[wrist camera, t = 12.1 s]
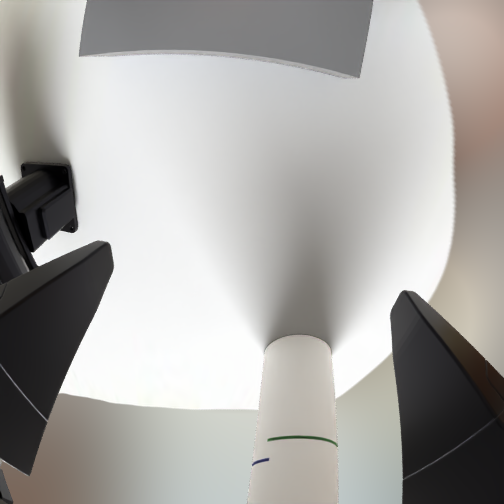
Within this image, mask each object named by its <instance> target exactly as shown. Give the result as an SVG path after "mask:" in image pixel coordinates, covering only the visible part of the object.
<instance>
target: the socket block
mask: <svg viewBox="0 0 504 504" xmlns="http://www.w3.org/2000/svg"><path fill="white" fill-rule="evenodd" d="M372 6H373V0H87V4H86V9H85V15H84V21H83V27H82V34H81V42H80V50H79V57H84V56H123V55H142V54H190V55H210V56H223V57H233V58H242V59H251V60H258V61H265V62H271V63H277V64H283V65H289V66H294V67H299V68H304V69H309V70H313V71H317V72H322V73H326V74H330V75H334V76H338V77H341V78H359V77H360V72H361V67H362V62H363V57H364V52H365V47H366V41H367V36H368V30H369V24H370V18H371V12H372Z"/></svg>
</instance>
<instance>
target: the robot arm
mask: <svg viewBox="0 0 504 504" xmlns="http://www.w3.org/2000/svg"><path fill="white" fill-rule="evenodd" d="M65 170H66V172H65ZM21 173H22V178H21V179H20V180H18V181H16V182H15V183H13V184H11V185H10V186H8V187H7V188H5V186H4V183H3V182H4V179H3V176H2V175H0V466H1V463H2V461H4V462H6V463H7V464H9V465H11V466H12V467H14V468H16V469H17V470H19V471H21V472H22V473H24V474H26V475H27V476H30V474H31V470H32V467H33V464H34V461H35V457H36V454H37V451H38V448H39V445H40V442H41V439H42V436H43V433H44V430H45V427H46V425H47V420H48V418H49V416H50V413H51V411H52V408H53V405H54V403H55V400H56V398H57V395H58V393H59V391H60V388H61V386H62V383H63V381H64V379H65V376H66V374H67V372H68V369H69V367H70V365H71V363H72V360H73V358H74V356H75V354H76V352H77V350H78V348H79V345H80V343H81V341H82V339H83V337H84V335H85V333H86V331H87V329H88V327H89V325H90V323H91V321H92V319H93V317H94V315H95V313H96V311H97V309H98V306H99V304H100V301H101V299H102V296H103V294H104V291H105V289H106V287H107V284H108V282H109V279H110V277H111V275H112V272H113V269H114V262H113V257H112V250H111V245H110V244H109V243H108V242H104V241H95V242H93V243H90V244H88V245H86V246H83V247H81V248H79V249H76V250H74V251H72V252H70V253H67V254H65V255H63V256H61V257H59V258H56V259H54V260H52V261H50V262H48V263H45V264H43V265H41V266H37V264H36V262H35V260H34V258H33V256H32V254H31V252H35V251H36V250H37V249H38V248H39V247H40V246H41V245H42V244H43V243H44V242H45V241H46V240H47V239H48V240H49V239H51V238H52V237H53V236H54V235H55V234H56V233H57V232H58V231H60V230H61V231H65V232H70V233H74V232H76V231H77V229H78V225H77V219H76V212H75V204H74V196H73V186H72V175H71V168H70V166H69V165H67V164H55V163H37V162H25V163H23V164H22V165H21ZM390 319H391V333H392V351H393V362H394V370H395V377H396V385H397V394H398V403H399V413H400V425H401V441H402V464H403V479H404V480H403V493H402V494H403V495H402V504H504V378H503V377H502V376H501V375H500V374H499V373H498V372H497V370H495V368H494V367H493V366H492V365H491V364H490V363H489V362H488V361H487V360H486V361H485V358H484V357H483V356H482V355H481V354H480V353H479V352H478V351H477V350H476V349H475V348H474V347H473V346H472V345H471V344H470V343H469V342H468V341H467V340H466V339H465V338H464V337H463V336H462V335H461V334H460V333H459V332H458V331H457V330H456V329H455V328H453V327H452V326H451V325H450V324H449V323H448V322H447V321H446V320H445V319H444V318H443V317H442V316H441V315H440V314H439V313H438V312H436V311H435V310H434V309H433V308H432V307H431V306H430V305H429V304H428V303H427V302H426V301H424V300H423V299H422V298H421V297H420V296H419V295H418V294H417V293H415V292H413V291H407V290H404V291H402V292H401V293H400V295H399V296H398V298H397V300H396V302H395V304H394V306H393V308H392V310H391V314H390ZM0 504H13V500H12V498H11V495H10V492H9V489H8V487H7V484H6V481H5V478H4V475H3V471H2V470H1V469H0Z"/></svg>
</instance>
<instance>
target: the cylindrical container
mask: <svg viewBox="0 0 504 504" xmlns="http://www.w3.org/2000/svg"><path fill="white" fill-rule="evenodd" d="M337 447H338V443H337V422H336V405H335V389H334V377H333V365H332V354H331V349H330V347H329V345H328V344H327V343H326V342H324V341H323V340H321V339H319V338H317V337H313V336H309V335H290V336H285V337H282V338H279V339H277V340H275V341H274V342H272V343H271V344H270V345H269V346H268V347H267V348H266V350H265V353H264V363H263V372H262V382H261V392H260V401H259V410H258V420H257V427H256V436H255V445H254V452H253V461H252V469H251V477H250V484H249V492H248V501H247V504H338V449H337Z"/></svg>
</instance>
